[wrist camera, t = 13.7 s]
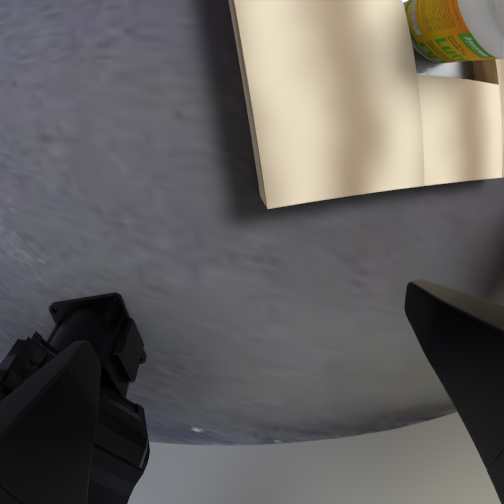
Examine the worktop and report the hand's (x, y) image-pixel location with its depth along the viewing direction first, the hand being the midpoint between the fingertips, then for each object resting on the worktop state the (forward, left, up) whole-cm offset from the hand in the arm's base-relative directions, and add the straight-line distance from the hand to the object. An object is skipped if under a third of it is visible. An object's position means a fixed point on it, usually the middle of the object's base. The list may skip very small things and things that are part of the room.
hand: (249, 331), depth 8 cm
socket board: (+12, +9, -13) cm, 20 cm away
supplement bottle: (+16, +11, -13) cm, 23 cm away
